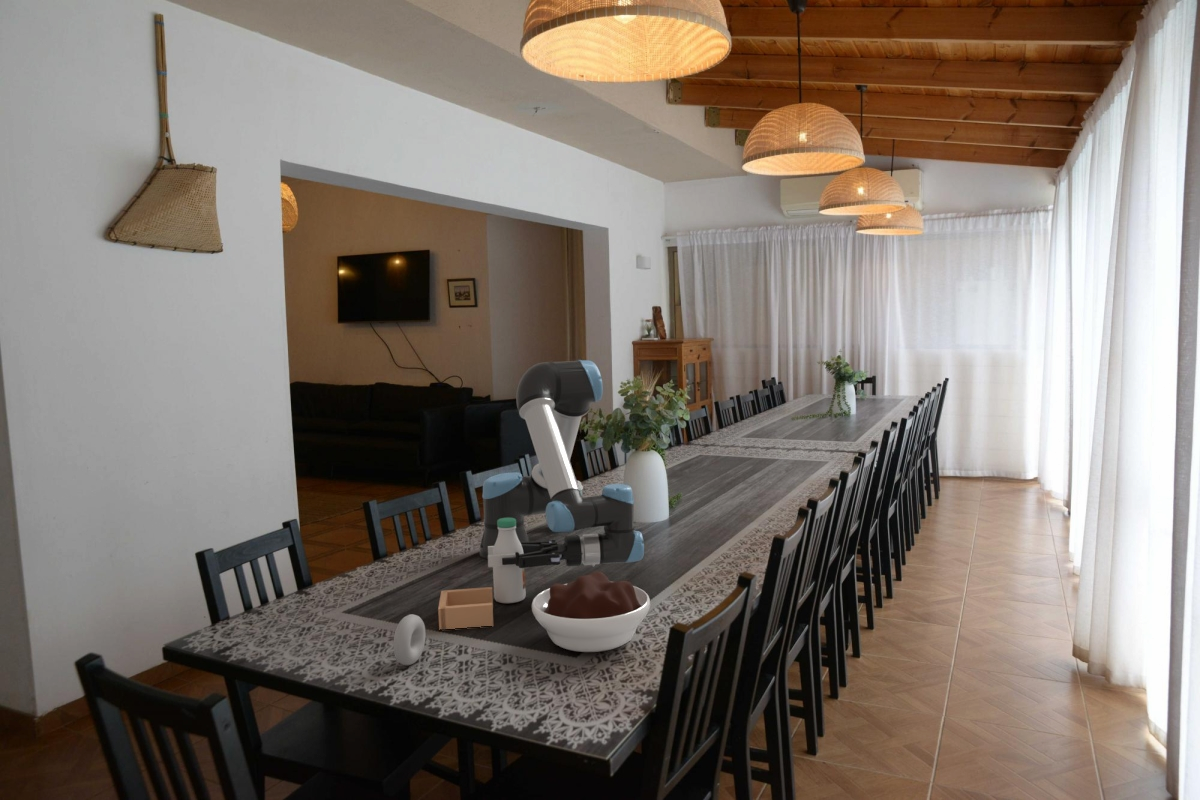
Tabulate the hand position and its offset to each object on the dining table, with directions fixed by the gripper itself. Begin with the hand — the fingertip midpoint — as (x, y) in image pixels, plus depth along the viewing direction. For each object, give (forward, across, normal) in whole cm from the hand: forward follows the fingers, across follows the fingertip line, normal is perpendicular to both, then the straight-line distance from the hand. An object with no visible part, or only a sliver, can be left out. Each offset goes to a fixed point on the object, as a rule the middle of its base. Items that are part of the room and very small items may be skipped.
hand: (488, 556), depth 205 cm
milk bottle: (-5, 0, -11) cm, 12 cm away
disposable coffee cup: (-26, +69, -12) cm, 75 cm away
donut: (+16, -34, -12) cm, 40 cm away
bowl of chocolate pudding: (-21, -31, -12) cm, 40 cm away
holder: (+4, -11, -11) cm, 16 cm away
